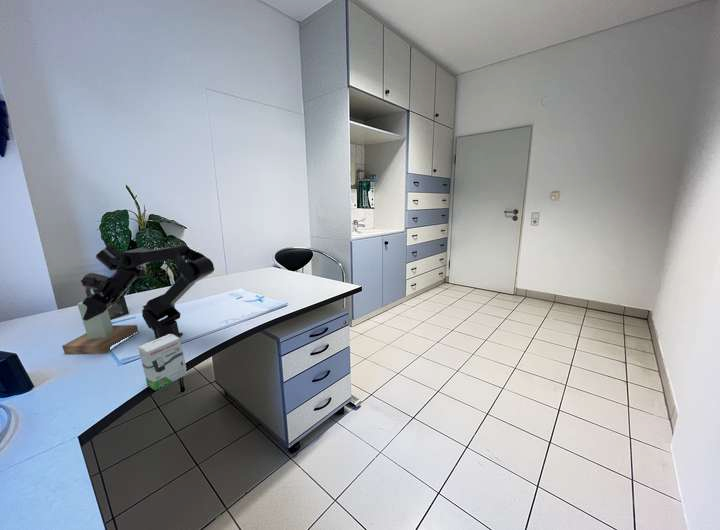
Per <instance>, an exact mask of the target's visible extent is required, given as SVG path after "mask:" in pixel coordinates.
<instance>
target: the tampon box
mask: <svg viewBox="0 0 720 530" xmlns="http://www.w3.org/2000/svg"><path fill="white" fill-rule="evenodd" d="M83 287H84V291H85V294H86V297H88V296H90V295H91V294H96V293H97V294H99V295H101V296H102V297H103V296H104V295H103V294H102V292H98V291H97V289H98V288H93V287H88V286H83ZM108 313H109V316H110V320H111V321H112V320H113V319H118V318H120V317H122V316H127V315H129V314H130V312H129V309H128V305H127V301H126V298H125V296H123V297H122V298H121V299H119V300H117V301H115V302H114V303H112V305H111V306H110V307H109V308H108Z"/></svg>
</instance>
